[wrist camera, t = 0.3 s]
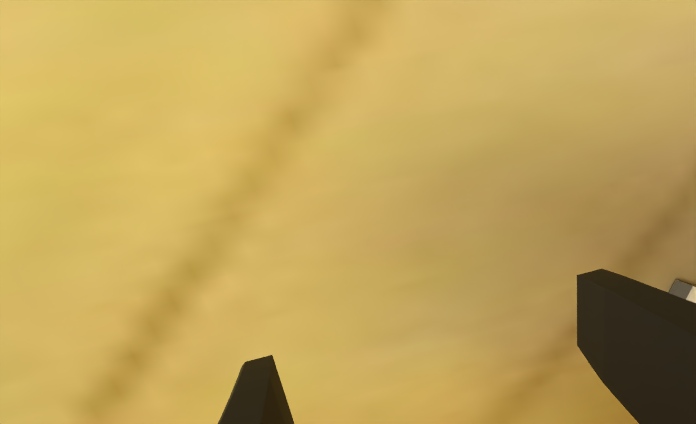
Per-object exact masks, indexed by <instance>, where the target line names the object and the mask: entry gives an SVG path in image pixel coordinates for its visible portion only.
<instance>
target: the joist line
mask: <svg viewBox="0 0 696 424" xmlns="http://www.w3.org/2000/svg"><path fill="white" fill-rule="evenodd" d="M669 293H670V294H673V295H675V296H678V297H681V298H683V299H686V300H689V301H691V302H694V303H696V287H695V286H693V285H690V284H688V283H685V282H682V281H680V280H677V279H676V280H675V282H674V284H673V286H672V287H671V289H670V291H669Z"/></svg>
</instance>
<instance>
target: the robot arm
mask: <svg viewBox="0 0 696 424" xmlns="http://www.w3.org/2000/svg"><path fill="white" fill-rule="evenodd" d="M577 345H578V347H579V348H580V350H581V351H582V353H583V354H584V356H585V357H586V359H587V360H588V362H589V363H590V365H591V366H592V368H593V369H594V371H595V372H596V373H597V375H598V376H599V378H600V379H601V380H602V382H603V383H604V384H605V385H606V387H607V388H608V389H609V390H610V391H611V392H612V393H613V395H614V396H615V397H616V398H617V399H618V400H619V401H620V403H621V404H622V405H623V406H624V407H625V408H626V409H627V410H628V412H629V413H630V414H631V415H632V416H633V417H634V418H635V419H636V420H637V422H638V423H639V424H696V303H694V302H691V301H689V300H686V299H683V298H681V297H678V296H675V295H673V294H670V293H667V292H665V291H662V290H659V289H657V288H654V287H652V286H649V285H646V284H644V283H641V282H638V281H636V280H633V279H630V278H628V277H625V276H622V275H619V274H616V273H614V272H610V271H607V270H604V269H599V270H595V271H592V272H588V273H584V274H580V275H577ZM218 424H294V421H293V418H292V415H291V412H290V409H289V406H288V403H287V400H286V396H285V393H284V390H283V387H282V384H281V381H280V378H279V375H278V372H277V369H276V365H275V362H274V359H273V356H272V355H270V356H266V357H263V358H259V359H255V360H251V361H247V362H245V363H244V365H243V366H242V368H241V370H240V373H239V376H238V378H237V381H236V383H235V386H234V388H233V391H232V393H231V395H230V398H229V400H228V402H227V405H226V407H225V409H224V412H223V414H222V416H221V418H220V420H219V422H218Z"/></svg>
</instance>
